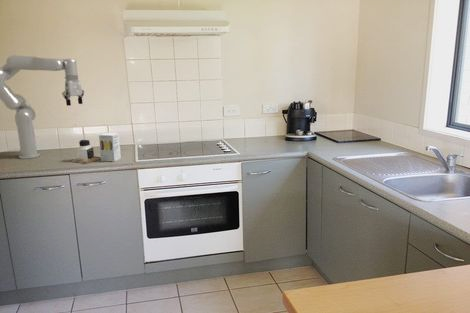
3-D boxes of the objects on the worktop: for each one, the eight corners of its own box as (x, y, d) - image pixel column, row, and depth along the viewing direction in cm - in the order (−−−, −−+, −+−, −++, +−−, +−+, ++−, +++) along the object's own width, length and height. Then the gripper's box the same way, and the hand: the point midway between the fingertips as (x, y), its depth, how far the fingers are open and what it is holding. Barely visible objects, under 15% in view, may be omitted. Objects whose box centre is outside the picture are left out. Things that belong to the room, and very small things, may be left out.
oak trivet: (72, 161, 258) (72, 159, 258) (87, 157, 268) (86, 155, 268) (86, 163, 252) (85, 161, 252) (100, 159, 263) (100, 157, 262)
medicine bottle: (88, 160, 256) (86, 141, 253) (77, 159, 258) (75, 141, 255) (94, 157, 263) (92, 139, 260) (84, 157, 264) (82, 138, 261)
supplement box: (100, 161, 258) (98, 134, 254) (107, 157, 267) (105, 132, 263) (115, 161, 256) (112, 135, 252) (121, 158, 265) (119, 132, 261)
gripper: (65, 79, 258) (68, 106, 262) (86, 77, 273) (88, 103, 277) (56, 78, 262) (59, 105, 266) (78, 77, 276) (80, 103, 281)
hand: (74, 104), depth 271 cm, fingers open, 9 cm apart
